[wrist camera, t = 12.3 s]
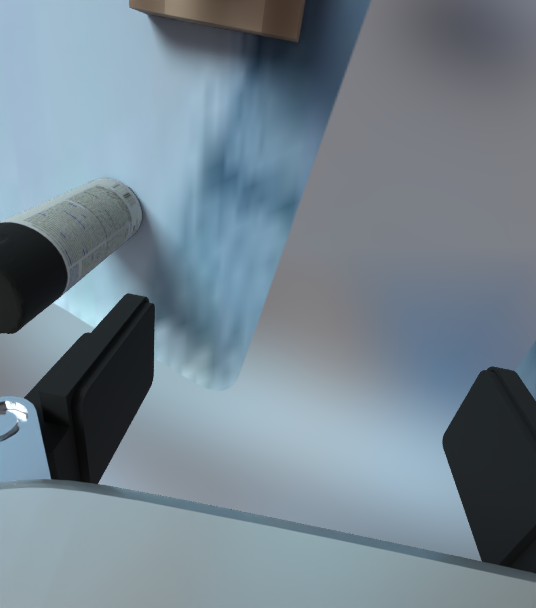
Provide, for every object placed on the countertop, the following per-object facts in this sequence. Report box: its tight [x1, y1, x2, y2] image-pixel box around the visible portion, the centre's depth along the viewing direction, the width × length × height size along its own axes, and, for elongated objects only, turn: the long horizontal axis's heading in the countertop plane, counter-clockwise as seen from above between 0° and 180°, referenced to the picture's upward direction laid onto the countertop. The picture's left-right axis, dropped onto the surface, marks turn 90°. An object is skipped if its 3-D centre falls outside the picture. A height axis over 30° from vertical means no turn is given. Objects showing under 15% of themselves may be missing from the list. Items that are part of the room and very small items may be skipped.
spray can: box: [0, 178, 142, 334], centre depth 33 cm, size 7×7×20 cm
